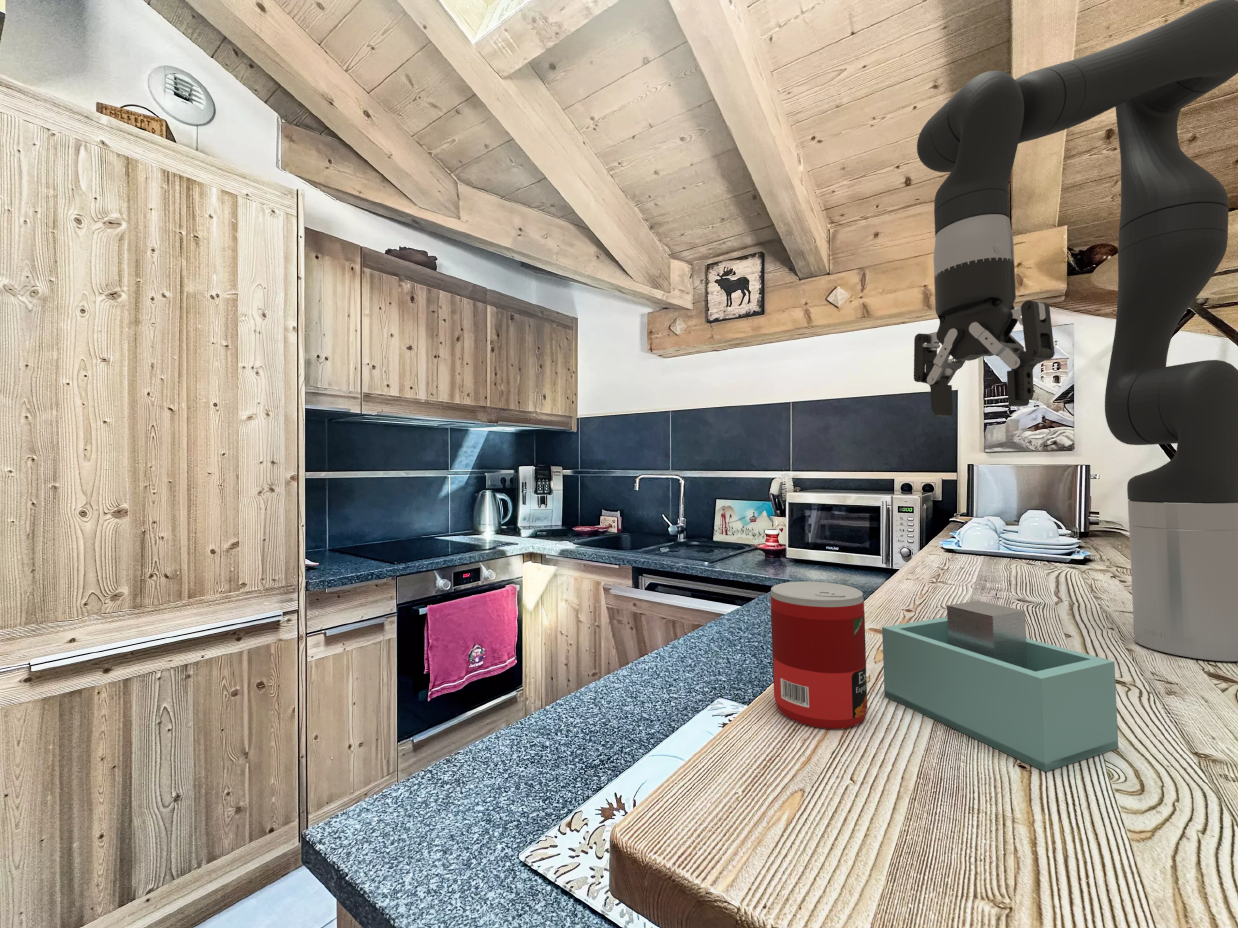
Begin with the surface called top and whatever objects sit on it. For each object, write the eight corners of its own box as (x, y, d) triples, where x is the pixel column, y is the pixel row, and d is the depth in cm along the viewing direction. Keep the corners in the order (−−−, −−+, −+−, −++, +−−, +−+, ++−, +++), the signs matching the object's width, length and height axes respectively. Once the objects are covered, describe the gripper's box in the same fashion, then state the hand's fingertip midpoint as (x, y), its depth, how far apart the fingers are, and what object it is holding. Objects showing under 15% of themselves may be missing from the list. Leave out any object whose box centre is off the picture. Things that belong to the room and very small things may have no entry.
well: (948, 682, 53) (945, 616, 53) (1118, 748, 40) (1114, 661, 40) (884, 695, 50) (882, 627, 51) (1045, 771, 37) (1041, 678, 37)
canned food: (878, 734, 43) (874, 600, 43) (778, 727, 45) (774, 598, 45) (856, 695, 51) (852, 581, 51) (770, 690, 52) (767, 580, 53)
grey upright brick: (981, 699, 48) (977, 600, 48) (1029, 718, 44) (1024, 610, 44) (950, 707, 46) (946, 605, 47) (997, 727, 43) (992, 616, 43)
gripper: (1066, 246, 54) (1073, 403, 53) (939, 293, 67) (944, 419, 67) (1016, 236, 51) (1023, 401, 51) (894, 287, 65) (899, 418, 64)
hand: (978, 411), depth 59 cm, fingers open, 8 cm apart
